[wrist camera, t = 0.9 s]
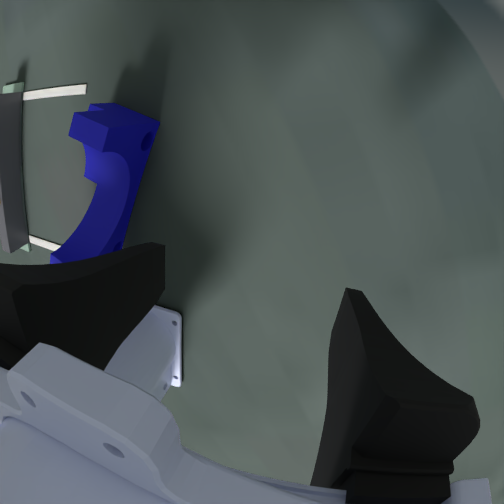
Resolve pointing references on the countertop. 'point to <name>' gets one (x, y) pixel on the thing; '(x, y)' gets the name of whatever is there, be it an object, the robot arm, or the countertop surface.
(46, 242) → the lane marks
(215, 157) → the countertop surface
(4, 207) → the header strip
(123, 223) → the blue mounting bracket
